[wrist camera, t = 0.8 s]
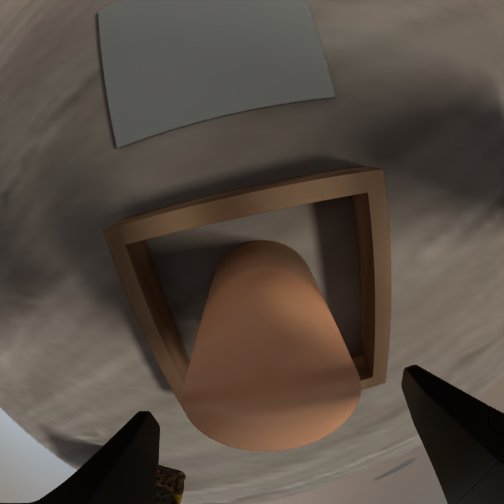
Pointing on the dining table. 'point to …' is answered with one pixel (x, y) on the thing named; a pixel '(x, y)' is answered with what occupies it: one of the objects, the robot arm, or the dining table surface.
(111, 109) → the pad
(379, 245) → the wooden picture frame
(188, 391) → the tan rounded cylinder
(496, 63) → the dining table surface
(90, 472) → the robot arm
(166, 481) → the candle
